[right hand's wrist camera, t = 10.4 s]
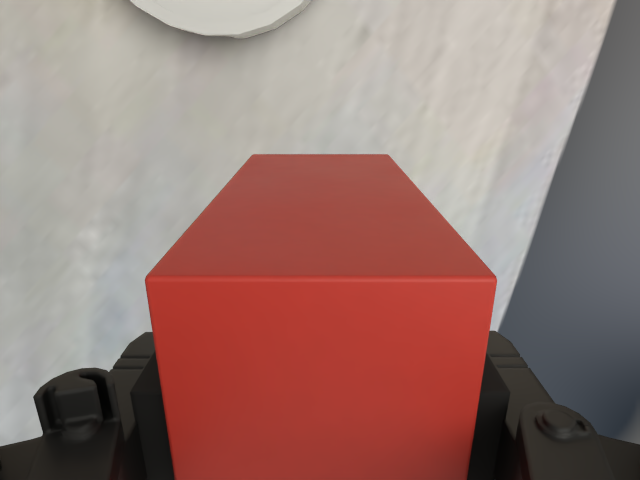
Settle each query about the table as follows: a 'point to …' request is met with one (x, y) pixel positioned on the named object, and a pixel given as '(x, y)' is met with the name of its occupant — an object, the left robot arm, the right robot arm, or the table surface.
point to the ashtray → (223, 15)
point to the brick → (320, 328)
